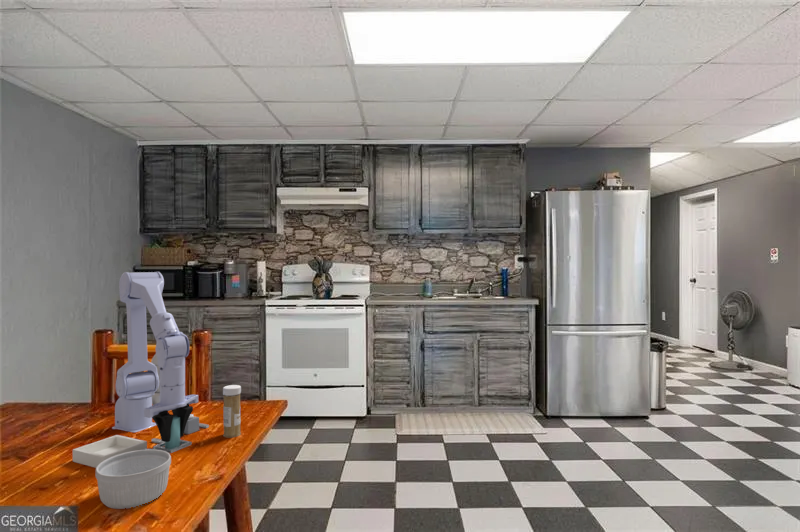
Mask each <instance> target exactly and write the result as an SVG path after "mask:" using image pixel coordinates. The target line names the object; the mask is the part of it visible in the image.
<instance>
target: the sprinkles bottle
mask: <svg viewBox="0 0 800 532" xmlns="http://www.w3.org/2000/svg"><path fill="white" fill-rule="evenodd" d="M241 393H242V386H241V385H239V384H230V385H226V386H223V387H222V395H223V417H222V418H223V435H222V436H223V437H224V438H228V439H229V438H231V439H232V438H237V437H240V436H241V435H242V432H241V422H242V420H241Z"/></svg>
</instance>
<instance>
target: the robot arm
mask: <svg viewBox="0 0 800 532" xmlns="http://www.w3.org/2000/svg"><path fill="white" fill-rule="evenodd" d="M118 282H119V283H118V286H119V288H118V290H119V291H118V294H119V301H120V303H121V302H122V303H123V304H125V308H126V326H127V327H126V328H127V329H126V330H127V331H126V333H127V338H126V339H127V361H126V363H124V365H122V366H121V367H120V368H118V369H117V371H116V379H115V392H116V395H117V396H118V399H117V400H116V402H115V405H114V426H112V427H111V429H112V430H121V431H125V432H130V433H137V432H141V431H143V430H146V429H149V428H153V427H155V426H157V429H158V432H159V436H160V439H161V440H162V441H164V442H169V441H170V437H171V424H172V420H173V417H174V416H179V417H180V438H183V437H184V436H183V435H185V433H184V430H185V426H186V423H187V421H188V418H189V416H190V414H192V412H193V411H194V407H193V406H191V404H197V403H199V394H195V393H194V394H189V395H188V394H187V395H186V358H187V357H188V356H189V354H190V348H191V347H190V340H189V338H188V336H187V334H185V333H184V332H183V331H180V329H179V327H178V325H177V323H176V320H175V317H174V315H173V314H172V313H170V312H168V311H167V309H166V306H165V302H164V299H163V296H162V294H163V290H164V288H165V287H164V285H165V279H164V276H163V274H162V273H161V272H160V271H154V272H153V271H151V272H150V271H148V272H145V271H143V272H141V271H139V272H138V271H137V272H135V271H133V272H128V271H124V272H123V273H122V274H121V275H120V278H119V281H118ZM147 310H148V313H149V314H150V316H151V318H150V320H149V326H150V329H151V331H152V334H153V336H154V339H155V341H156V344H155V354H156V355H157V359H158V366H159V367H160V402H159V403H157V404H155V405H153V404H152V395H154V392H156V391H157V389H158V387H159V376H158V373H157V367H156V366H155V365H154V364H152V363H151V362H150V361H149V360H148V335H147V333H148V331H147V328H148V327H147ZM169 411H171V414H170V412H169ZM153 421H154V422H153Z"/></svg>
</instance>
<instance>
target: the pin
mask: <svg viewBox="0 0 800 532" xmlns="http://www.w3.org/2000/svg"><path fill="white" fill-rule="evenodd" d="M180 440H181V437H180V417H179V416H174V417H173V420H172V424H171V437H170V441H169V442H165V446H164V447H166V448H171V449H172V448H174V447H177V446H179V445H181V444H180Z"/></svg>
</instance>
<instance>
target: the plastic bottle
mask: <svg viewBox="0 0 800 532" xmlns="http://www.w3.org/2000/svg"><path fill="white" fill-rule="evenodd" d="M151 363H152V364H154V365H155V366H156V367H157V373H158V376H159V387H158V389H157V391H156V392H154V395H152V406H153V405H155V404H157V403H159V402H160V367H159V366H158V359H157V355H156V353H155V354H154V355H153V357H152V358H151Z"/></svg>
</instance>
